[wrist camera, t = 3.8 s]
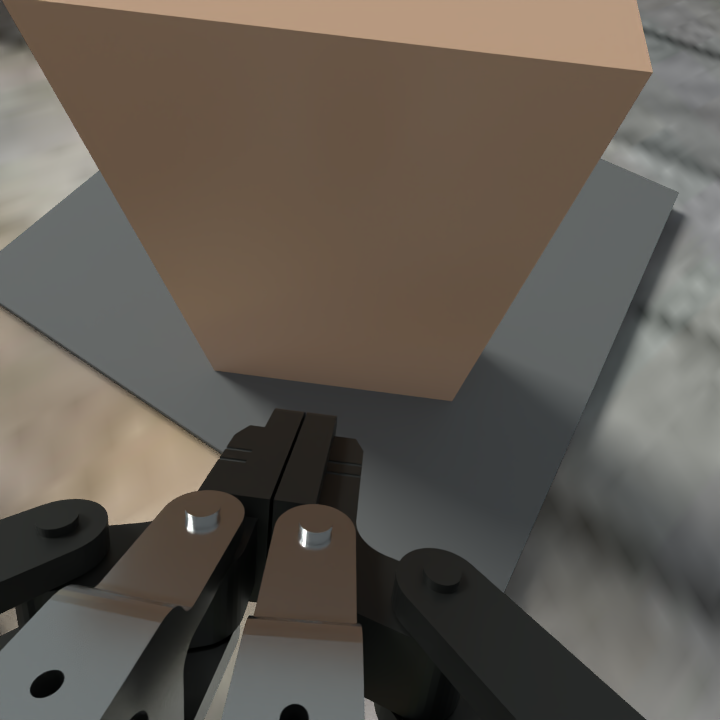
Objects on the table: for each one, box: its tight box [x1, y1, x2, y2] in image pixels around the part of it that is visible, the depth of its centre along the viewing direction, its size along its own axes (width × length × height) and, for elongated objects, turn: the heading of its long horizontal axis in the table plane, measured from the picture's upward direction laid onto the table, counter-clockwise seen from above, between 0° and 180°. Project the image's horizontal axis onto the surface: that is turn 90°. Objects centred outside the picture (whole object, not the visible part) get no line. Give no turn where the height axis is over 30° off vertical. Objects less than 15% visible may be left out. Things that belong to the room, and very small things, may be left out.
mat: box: [0, 159, 679, 593], centre depth 24 cm, size 26×24×1 cm
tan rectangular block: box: [2, 0, 653, 401], centre depth 14 cm, size 3×10×14 cm, turn 83°
